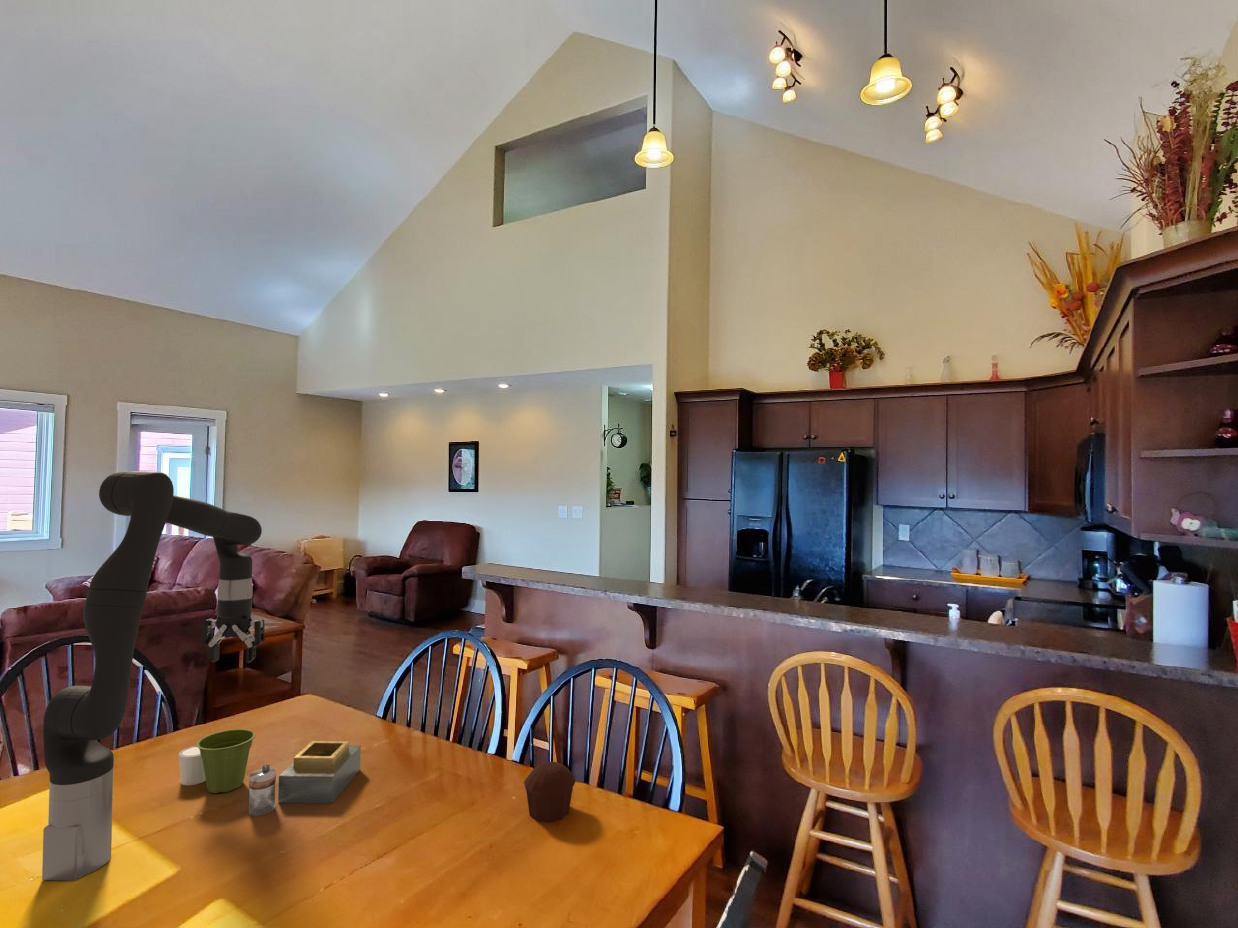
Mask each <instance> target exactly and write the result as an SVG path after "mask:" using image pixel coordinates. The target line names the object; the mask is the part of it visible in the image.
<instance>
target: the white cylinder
mask: <svg viewBox="0 0 1238 928" xmlns="http://www.w3.org/2000/svg"><path fill="white" fill-rule="evenodd" d="M178 760H179V761H178V762H179V772H180V773H179V774H180V784H181V785H182V786H194V785H199V784H201V783H204V782H206V778H205V772H204V766H203V760H202V757H201V754H200V749H199V748H198V747H197V745H192V746H190V747H189V746H188V747H186V748H184V749H181V750H180V752H179V753H178Z"/></svg>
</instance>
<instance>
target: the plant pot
mask: <svg viewBox="0 0 1238 928" xmlns="http://www.w3.org/2000/svg"><path fill="white" fill-rule="evenodd" d="M255 737H256V732H255V731H254V730H252V729H248V728H234V729H227V730H220V731H216V732H213V733H210V734H208V735H205V736H204V737H202V738H200V739H199V740H198V741H196V746H197V747H198V748H199V749H200V754H201V757H202V760H203V766H204V772H205V778H206V781H205V784H206V788H207V790H206V791H208V792H209V793H212V794H218V793H229V792H232V791H234V790H237V789H238V788H240V787H241V786H242V784H243V783H244V782H245V781H244V780H245V776H246V769H247V765H248V759H249V754H250V749H251V748H252V744H253V740H254V738H255Z"/></svg>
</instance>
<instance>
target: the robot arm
mask: <svg viewBox="0 0 1238 928" xmlns="http://www.w3.org/2000/svg"><path fill="white" fill-rule="evenodd" d="M174 492H175V491H174V485H173V481H172V479H171V478H170V476H169V475H168V474H166V473H164V472H160V471H152V470H150V471H146V470H145V471H143V470H125V471H118V472H114V473H111V474H109V475H108V476H107V477H106V478H104V480H103V481H102V483H101V484H100V487H99V491H98V496H99V501H100V503H101V505H102V506H103V507H104V508H105V509H106V510H107V511H108V512H110V513H112V514H114V515H119V516H125V517H130V519H129V522H128V526H127V529H126V533H125V535H124V537H123V538H122V539H121V542H120V544H119V545H118V546H117V548H116V549H115V550H113V552H112V553H111V554H110V555H109V556H108V558H107V559H106V560H105V561H104V562H103V563H102V564H101V566H100V567H99V568H98V570H97V571H96V572H95V574H94V575H93V576H92V578H91V581H90V583H89V586H88V590H87V595H86V598H85V603H84V607H83V612H82V616H83V617H82V619H83V623H84V626H85V630H86V633H87V636H88V639H89V642H90V644H91V647H92V650H93V653H94V671H93V677H92V682H91V685H71V686H67V687H65V688H62V689H61V690H59V691H57V693H56V694H55V695H53V696H52V698H50V701H49V702H48V703H47V704H48V705H47V706H46V708H45V711H44V716H43V721H42V723H43V724H42V739H43V740H42V741H43V762H44V766H45V768H46V770H47V772H48V774H49V778H48V779H49V785H48V786H49V792H48V795H49V796H48V816H47V817H48V823H47V825H45V827H44V828H43V831H42V833H43V835H42V837H43V838H42V870H41V871H42V872H41V880H42V881H78V880H79V878H82V877H83V876H86V875H88V874H91V873H93V872H96V871H97V870H98V869H100V868H102V867H103V866H105V865H106V864H107V863H108V862H110V860H111V858H112V841H113V840H112V839H113V838H112V835H113V801H114V798H113V795H114V769H115V768H114V767H115V766H114V765H115V764H114V763H115V756H114V752H113V751H112V750H111V749H110V748H108V747H106V746H104V745H103V744H101V743H100V742H99V740H103V739H106V738H108V737H110V736H112V735H113V733H115V732H116V731H117V730H118V728H119V727H120V726H121V723H122V721H123V720H124V717H125V714H126V711H127V706H128V701H129V694H130V693H129V692H130V687H131V686H130V685H131V676H132V667H133V666H132V665H133V658H134V652H135V649H136V648H135V646H136V643H137V638H138V633H139V627H140V624H141V619H142V616H143V612H144V608H145V603H146V598H147V595H148V594H147V593H148V589H149V583H150V580H151V579H150V578H151V575H152V574H151V573H152V570H153V566H154V562H155V558H156V554H157V550H158V548H159V547H158V546H159V543H160V540H161V537H162V534H163V532H164V528H165V526H166V523H167V524H170V525H173V526H175V527H179V528H183V529H185V530H188V531H191V532H193V533H194V532H195V533H197V534H200V535H203V536H206V537H211V538H213V543H214V546H215V550H216V555H217V559H218V560H219V577H218V579H219V580H218V585H217V593H216V594H217V599H216V616H217V617H216V619H214V618H212V617H211V618H208V619H205V620H204V621H202V631H201V640H200V641H201V644H202V645H207V646H208V647H209V653H208V654H209V655H208V656H209V657H208V659H209V660H210V661H211V663H215V662H218V661H219V660H220V651H221V649H220V647H221V645H220V643H221V642H222V640H223V639H229V638H233V639H238V638H239V639H240V640H241V641H242V642H244V643H245V645H246V646H247V647H246V651H245V652H246V653H245V655H246V656H245V662H246V663H247V664H249V663H252V662H253V661H254V660H255V659H256V657H257V656H256V655H257V646H258V645H261V644H264V643H265V642H266V640H265V639H266V638H265V637H266V636H265V619H263V618H261V619H256V620H255V619H254V620H253V619H252V612H253V611H252V610H253V594H254V592H253V557H252V556H251V555H249V554H246V553H243V552H241V550H240V549H239V547H238V546H250V545H252V544H254V543H256V542H257V541H258V540H259V539H261V535H262V531H263V530H262V525H261V523H260V521H258V519H257V518H254V517H252V516H250V515H246V514H243V513H239V512H234V511H228V510H225V509H223V508H221V507H219V506H216V505H213V504H211V503H207V502H205V501H202V500H197V499H195V498H194V499H193V498H190V497H189V498H188V497H184V496H178V495H174V494H175V493H174ZM215 627H216V628H217V632H216V633H215V635H214V636H213V634H214V628H215ZM251 627H252V629H253V630H254V632H252V630H251V629H250V628H251Z"/></svg>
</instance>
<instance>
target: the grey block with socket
mask: <svg viewBox="0 0 1238 928" xmlns="http://www.w3.org/2000/svg"><path fill="white" fill-rule="evenodd" d="M361 747H362V746H361V745H352V744H351V745H350V741H343V740H342V741H341V740H339V741H336V740H335V741H334V740H312V741H310V742H309V743H308V744H307V745H306V746H305V747H304V748H302V749H301V750H300V751H299V752H298V753H297V754H296V755H295V756H294V757H293V762H292V763H291V764H290V765H289V766H288V767H287V768H286V769H285V770H283V772H281V773H280V774H279V775H278V790H277V791H278V799H277V800H278V802H277V803H280V804H333V803H334V802H335V800H336V799H337V798H338V796H340V795H341V793H342V792H343V791H344V790H345V789H346V787H347V786H348V785H349V784H350V783H351V781H352V780H353V779H354V778H355V777H356V776H357V774H358V773H359V772H360V770H361V755H362V754H361V750H362V749H361Z"/></svg>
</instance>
